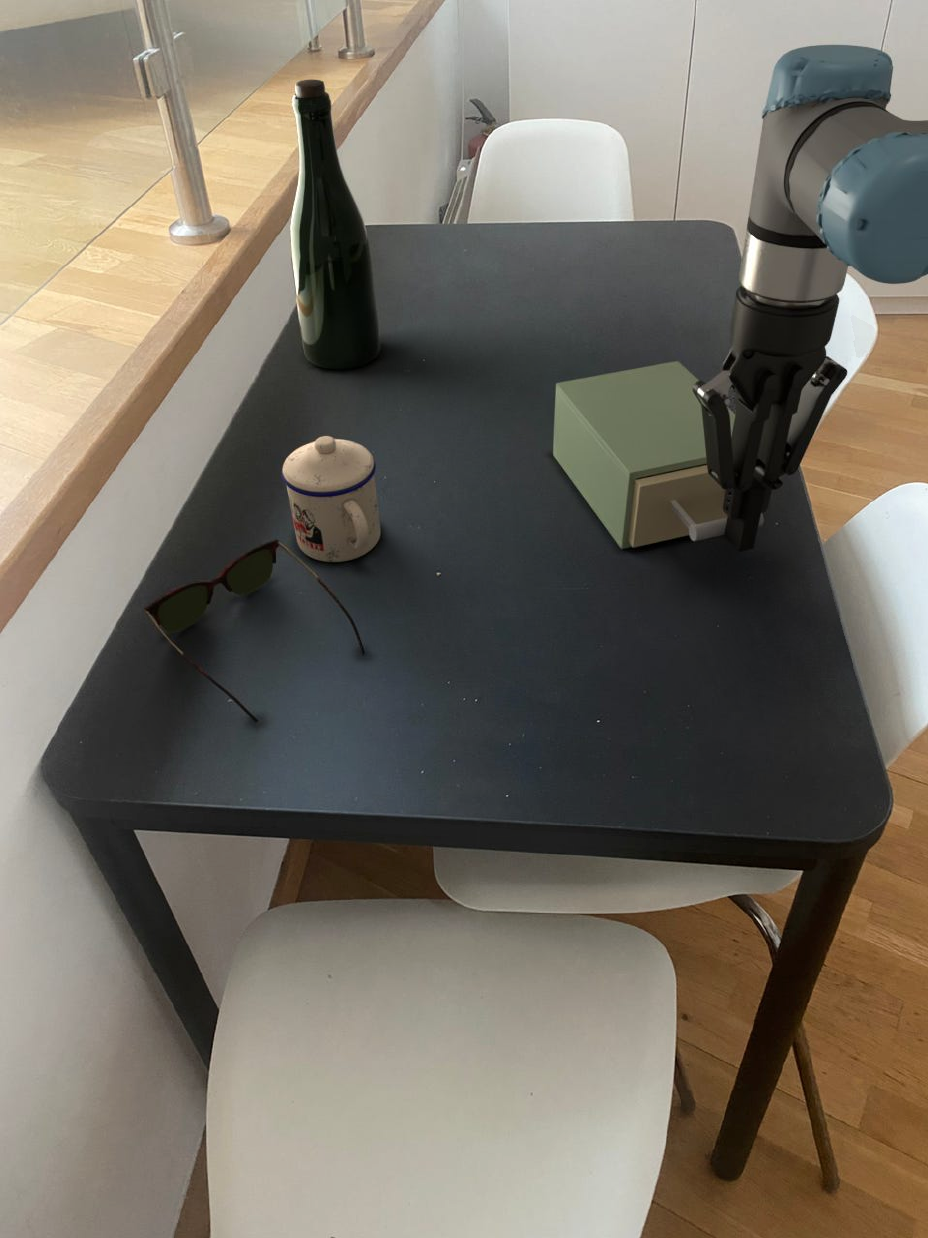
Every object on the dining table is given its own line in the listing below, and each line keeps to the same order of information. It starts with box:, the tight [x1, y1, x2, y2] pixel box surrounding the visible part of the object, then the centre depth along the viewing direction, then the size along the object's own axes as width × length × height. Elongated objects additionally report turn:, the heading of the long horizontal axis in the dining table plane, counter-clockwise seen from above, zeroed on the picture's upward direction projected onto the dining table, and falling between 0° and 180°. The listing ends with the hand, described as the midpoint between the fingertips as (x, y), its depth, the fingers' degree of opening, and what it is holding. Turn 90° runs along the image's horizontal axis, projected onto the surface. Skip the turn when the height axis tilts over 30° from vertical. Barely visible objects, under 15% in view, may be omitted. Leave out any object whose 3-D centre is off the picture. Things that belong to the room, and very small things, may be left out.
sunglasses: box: [143, 538, 366, 723], centre depth 82 cm, size 14×15×5 cm
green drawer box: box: [552, 360, 736, 550], centre depth 97 cm, size 19×15×9 cm
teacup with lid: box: [281, 435, 381, 563], centre depth 90 cm, size 12×9×12 cm
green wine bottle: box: [288, 79, 381, 370], centre depth 115 cm, size 10×10×33 cm
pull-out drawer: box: [628, 464, 765, 549], centre depth 94 cm, size 23×13×7 cm, turn 18°
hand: (738, 542), depth 84 cm, fingers closed
